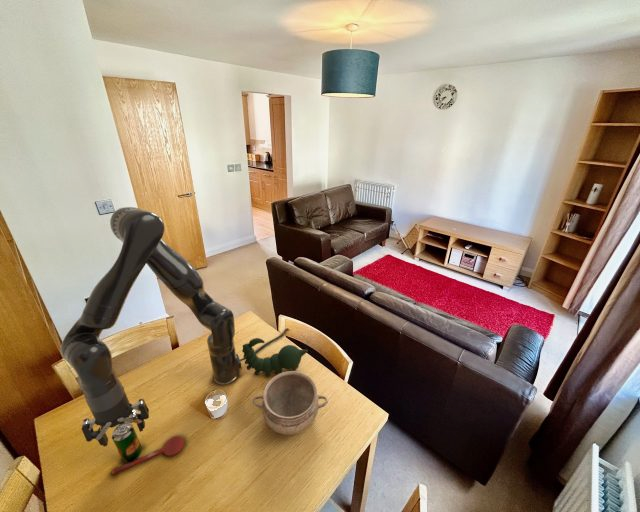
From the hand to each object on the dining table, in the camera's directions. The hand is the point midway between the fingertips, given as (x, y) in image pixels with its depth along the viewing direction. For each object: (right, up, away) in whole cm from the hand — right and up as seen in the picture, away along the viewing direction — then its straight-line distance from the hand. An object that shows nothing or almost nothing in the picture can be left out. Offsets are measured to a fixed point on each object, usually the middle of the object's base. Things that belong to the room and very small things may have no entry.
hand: (124, 435), depth 78 cm
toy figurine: (+39, +5, +34) cm, 52 cm away
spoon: (+5, -9, +3) cm, 11 cm away
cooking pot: (+46, -4, +16) cm, 49 cm away
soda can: (0, -8, +4) cm, 9 cm away
